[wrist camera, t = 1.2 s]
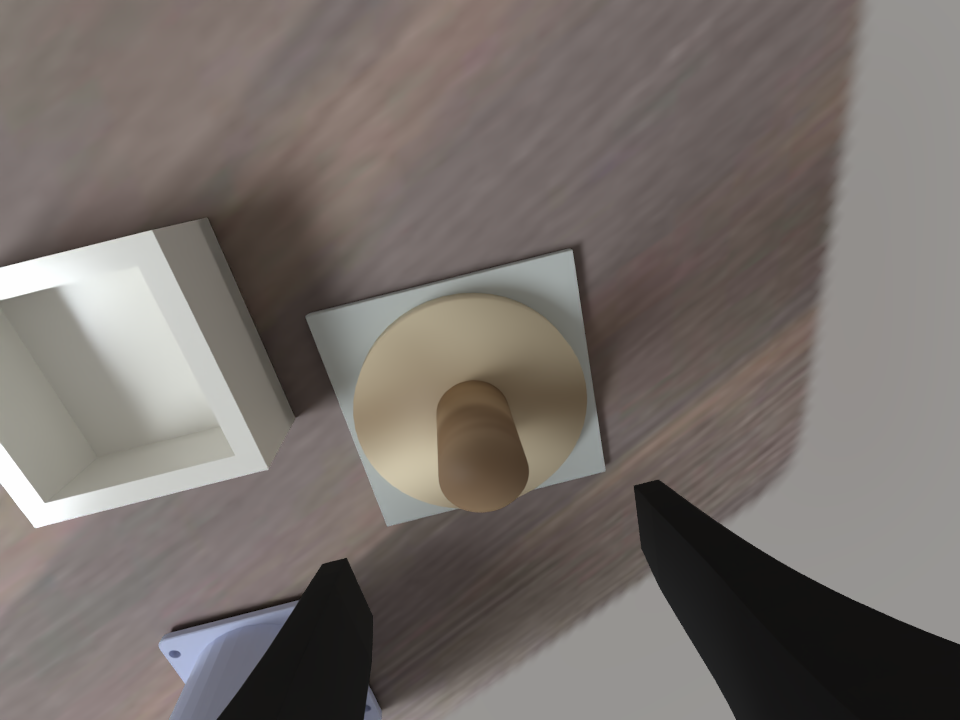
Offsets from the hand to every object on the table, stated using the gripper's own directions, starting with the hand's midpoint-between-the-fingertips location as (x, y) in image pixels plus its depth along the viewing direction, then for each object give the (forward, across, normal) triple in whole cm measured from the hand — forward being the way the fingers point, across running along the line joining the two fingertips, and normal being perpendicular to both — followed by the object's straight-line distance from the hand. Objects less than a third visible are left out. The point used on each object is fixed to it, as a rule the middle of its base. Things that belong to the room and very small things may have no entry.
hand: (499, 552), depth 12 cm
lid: (+8, 0, 0) cm, 8 cm away
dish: (+9, +11, -5) cm, 15 cm away
